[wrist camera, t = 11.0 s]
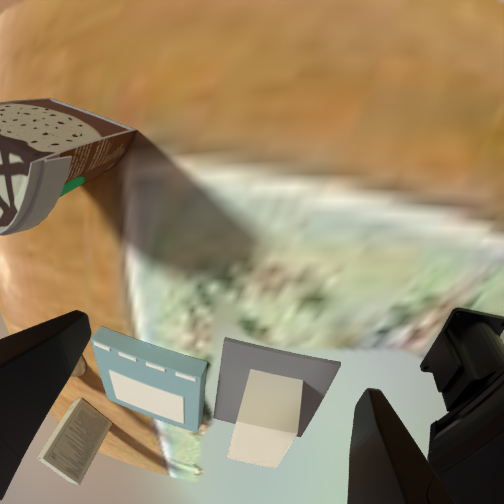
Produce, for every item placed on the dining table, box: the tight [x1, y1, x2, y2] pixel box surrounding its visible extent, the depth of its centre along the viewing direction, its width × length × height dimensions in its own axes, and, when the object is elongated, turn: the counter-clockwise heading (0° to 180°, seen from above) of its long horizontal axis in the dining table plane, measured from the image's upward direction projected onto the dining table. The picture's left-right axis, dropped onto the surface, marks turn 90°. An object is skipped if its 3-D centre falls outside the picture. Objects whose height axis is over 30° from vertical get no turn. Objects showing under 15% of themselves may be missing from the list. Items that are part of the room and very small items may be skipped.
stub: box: [227, 369, 303, 468], centre depth 23 cm, size 4×7×6 cm, turn 170°
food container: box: [0, 98, 137, 235], centre depth 15 cm, size 12×6×10 cm, turn 65°
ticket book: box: [91, 326, 207, 433], centre depth 27 cm, size 11×10×2 cm
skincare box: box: [37, 398, 112, 485], centre depth 31 cm, size 6×4×12 cm
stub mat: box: [214, 337, 341, 437], centre depth 26 cm, size 10×12×1 cm
